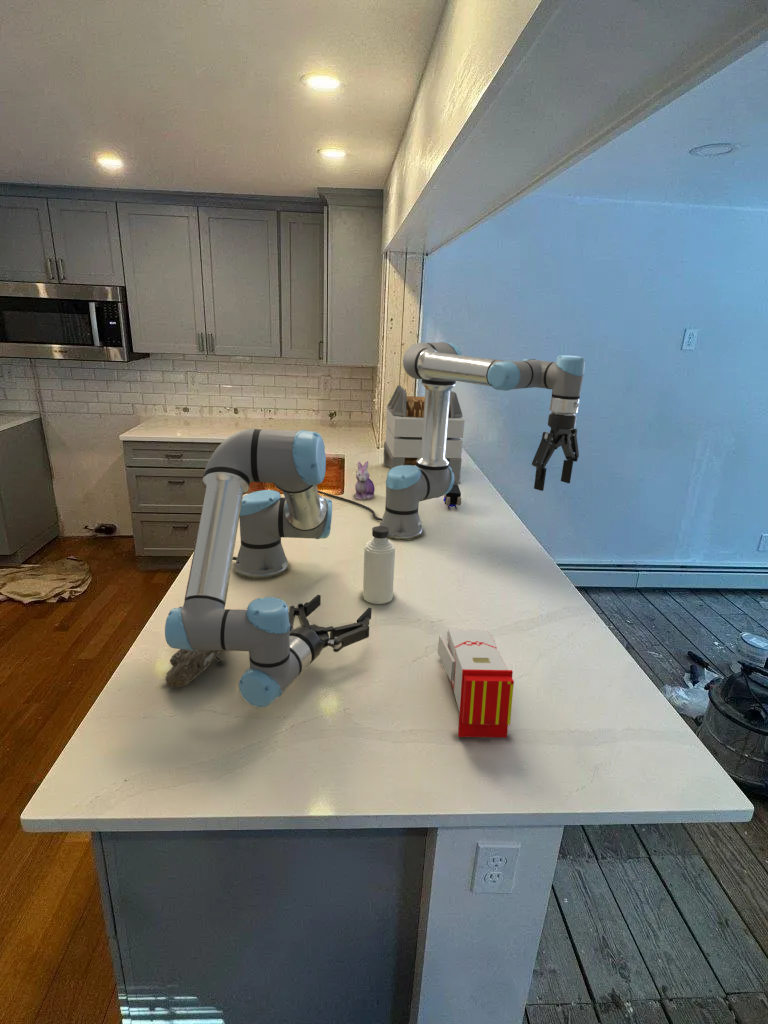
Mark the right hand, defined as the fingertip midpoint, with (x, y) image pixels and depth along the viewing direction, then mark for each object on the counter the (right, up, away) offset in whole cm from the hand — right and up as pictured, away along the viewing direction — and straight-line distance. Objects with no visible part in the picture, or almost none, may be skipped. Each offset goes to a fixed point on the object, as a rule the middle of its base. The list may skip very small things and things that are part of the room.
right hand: (552, 485), depth 166 cm
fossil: (-88, -40, -41) cm, 106 cm away
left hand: (-59, -30, -30) cm, 72 cm away
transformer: (-32, +11, +109) cm, 115 cm away
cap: (-50, -12, -16) cm, 54 cm away
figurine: (-57, -1, +71) cm, 92 cm away
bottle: (-51, -31, -10) cm, 60 cm away
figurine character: (-22, -5, +66) cm, 70 cm away
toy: (-31, -45, -47) cm, 72 cm away
